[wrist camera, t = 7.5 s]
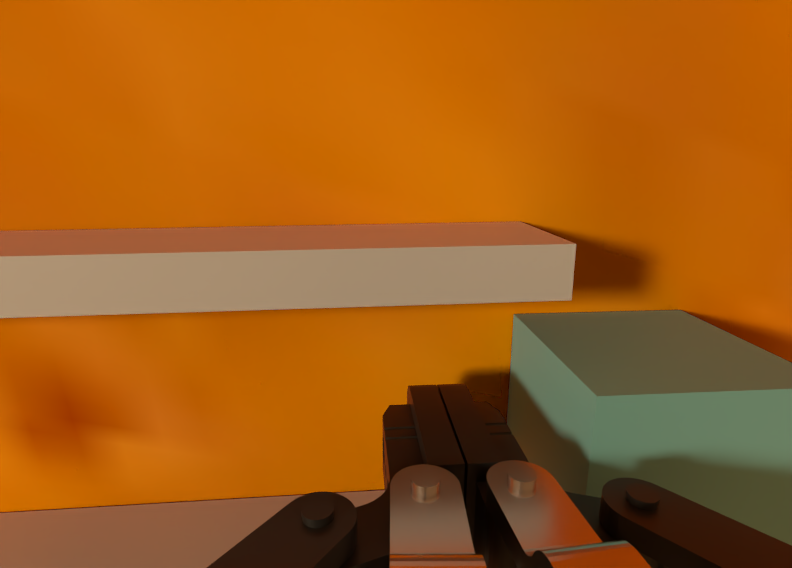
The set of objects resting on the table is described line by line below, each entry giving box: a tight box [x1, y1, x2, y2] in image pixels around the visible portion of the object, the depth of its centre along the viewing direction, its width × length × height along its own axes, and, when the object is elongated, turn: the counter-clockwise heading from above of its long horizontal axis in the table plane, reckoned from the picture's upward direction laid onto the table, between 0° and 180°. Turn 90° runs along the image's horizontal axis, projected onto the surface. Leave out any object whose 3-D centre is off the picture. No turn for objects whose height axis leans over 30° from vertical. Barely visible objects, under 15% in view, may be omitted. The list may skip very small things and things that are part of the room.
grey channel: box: [0, 222, 576, 568], centre depth 12 cm, size 9×18×4 cm, turn 90°
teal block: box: [507, 310, 792, 546], centre depth 13 cm, size 5×5×5 cm
